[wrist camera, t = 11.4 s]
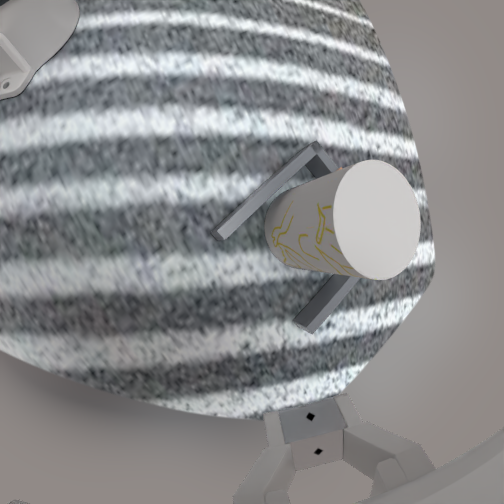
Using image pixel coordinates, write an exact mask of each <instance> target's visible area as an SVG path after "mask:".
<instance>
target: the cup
mask: <svg viewBox="0 0 504 504" xmlns="http://www.w3.org/2000/svg"><path fill="white" fill-rule="evenodd" d="M264 229H265V237H266V241H267V243H268V246H269V248H270V250H271V251H272V253H273V254H274V255H275V257H276V258H277V259H278V260H280V261H281V262H282V263H284V264H285V265H287V266H290V267H293V268H298V269H304V270H311V271H318V272H325V273H332V274H339V275H346V276H353V277H360V278H367V279H374V280H385V279H389V278H392V277H394V276H396V275H398V274H399V273H401V272H402V271H403V270H404V269H405V268H406V267H407V265H408V264H409V263H410V261H411V260H412V258H413V256H414V254H415V252H416V249H417V246H418V242H419V237H420V212H419V207H418V203H417V200H416V197H415V194H414V192H413V190H412V188H411V186H410V184H409V183H408V181H407V180H406V179H405V177H404V176H403V175H402V174H401V173H400V172H399V171H398V170H397V169H396V168H394V167H393V166H391V165H390V164H388V163H385V162H383V161H379V160H366V161H362V162H359V163H357V164H354V165H351V166H349V167H346V168H343V169H341V170H338V171H335V172H333V173H330V174H328V175H325V176H322V177H320V178H317V179H315V180H312V181H310V182H307V183H305V184H302V185H299V186H297V187H294V188H292V189H289V190H287V191H285V192H283V193H281V194H280V195H279V196H277V197H276V198H275V199H274V201H273V202H272V203H271V205H270V207H269V209H268V211H267V214H266V217H265V225H264Z"/></svg>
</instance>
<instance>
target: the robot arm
mask: <svg viewBox="0 0 504 504" xmlns="http://www.w3.org/2000/svg"><path fill="white" fill-rule="evenodd" d="M78 19H79V7H78V4H77V2H76V1H75V0H0V100H1V99H5V98H10V97H14V96H17V95H18V94H20V93H21V92H22V91H23V90H24V89H25V87H26V86H27V85H28V83H29V82H30V80H31V78H32V77H33V75H34V74H35V72H36V71H37V70H38V69H39V68H40V67H41V66H42V65H43V64H44V63H45V62H46V61H48V60H49V59H50V58H51V57H52V56H53V55H54V54H55V53H56V52H57V51H58V50H59V49H60V48H61V47H62V46H63V45H64V44H65V43H66V41H67V40H68V39H69V37H70V36H71V34H72V33H73V31H74V29H75V27H76V25H77V22H78ZM8 85H9V86H8ZM7 86H8V87H7ZM6 87H7V88H6ZM278 413H279V414H278ZM263 418H264V423H265V430H266V436H267V442H268V448H264V450H263V451H262V453H261V455H260V456H259V458H258V459H257V461H256V462H255V464H254V465H253V467H252V468H251V470H250V472H249V473H248V475H247V476H246V477H245V479H244V480H243V482H242V483H241V485H240V486H239V488H238V489H237V491H236V492H235V494H234V495H233V504H290V500H289V497H288V493H287V492H288V490H289V487H290V485H291V483H292V481H293V479H294V476H295V474H296V471H300V470H304V469H307V468H311V467H315V466H318V465H322V464H326V463H330V462H334V461H338V460H342V459H343V460H344V461H345V462H347V463H348V464H350V465H351V466H353V467H354V468H356V469H357V470H359V471H360V472H362V473H363V474H365V475H366V476H368V477H369V478H371V479H372V480H374V481H373V485H372V490H371V494H370V498H368V499H365V500H362V501H359V502H356V503H353V504H504V427H503V428H502V429H500V430H499V431H497V432H496V433H495V434H493V435H492V436H491V437H489V438H487V439H486V440H485V441H483V442H481V443H480V444H478V445H477V446H475V447H474V448H472V449H470V450H469V451H467V452H466V453H464V454H462V455H461V456H459V457H457V458H455V459H454V460H452V461H450V462H449V463H447V464H445V465H443V466H441V467H439V468H437V469H435V467H434V465H433V464H432V462H431V460H430V459H429V458H428V456H427V454H426V453H425V451H424V450H423V448H422V447H421V445H420V444H418V443H415V442H413V441H411V440H408V439H406V438H403V437H401V436H398V435H396V434H394V433H392V432H390V431H387V430H385V429H383V428H381V427H378V426H376V425H374V424H372V423H370V422H364V423H363V421H362V419H361V417H360V415H359V413H358V411H357V409H356V408H355V406H354V404H353V402H352V400H351V398H350V396H349V394H347V393H344V394H341V395H337V396H334V397H331V398H327V399H324V400H320V401H316V402H313V403H309V404H306V405H302V406H297V407H292V408H287V409H282V410H278V411H273V412H268V413H263ZM280 422H281V423H280ZM7 504H29V503H26V502H23V501H19V500H12V501H11V502H9V503H7Z"/></svg>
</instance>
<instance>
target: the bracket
mask: <svg viewBox="0 0 504 504" xmlns="http://www.w3.org/2000/svg"><path fill="white" fill-rule="evenodd" d="M304 165H306V166H307V168H308V169H309V170H310V171H311V172H312V174H313V175H314V176H315V177H316V179H317V178H320V177H322V176H325V175H328V174H330V173H333V172H335V171H338V170H341V169H342V167H341V168H338V167H337V165H336V164H335V163H334V162H333V160H332V159H331V158H330V157H329V155H328V154H327V153H326V152H325V150H324V149H323V148H322V147H321V145H320V144H319V143H318V142H317V140H316V141H314V142H313V143H311V144H309V145H308V146H306V147H304V148H303V149H302V150H300V151H299V152H298V153H297V154H296V155H295V156H294V157H292V158H291V159H290V160H289V161H288V162H287V163H286V164H284V165H283V166H282V167H281V168H280V169H279V170H278V171H277V172H276V173H274V174H273V175H272V176H271V177H270V178H269V179H268V180H267V181H265V182H264V183H263V184H262V185H261V186H260V187H259V188H258V189H257V190H256V191H254V192H253V193H252V194H251V195H250V196H249V197H248V198H247V199H246V200H245V201H244V202H243V203H241V204H240V205H239V206H238V207H237V208H236V209H235V210H234V211H233V212H232V213H231V214H230V215H229V216H227V217H226V218H225V219H224V220H223V221H222V222H221V223H220V224H219V225H218V226H217V227H216V228H215V229H214V230H213V231H212V232H210V233H211V234H212V235H213V236H214V237H215V238H216V239H217V240H218V241H220V240H226V239H227V238H228V237H229V236H230V235H231V234H232V233H233V232H234V231H235V230H236V229H237V228H238V227H239V226H240V225H241V224H242V223H243V222H244V221H245V220H246V219H247V218H249V217H250V216H251V215H252V214H253V213H254V212H255V211H256V210H257V209H258V208H259V207H260V206H261V205H262V204H263V203H264V202H265V201H266V200H268V199H269V198H270V197H271V196H272V195H273V194H274V193H275V192H276V191H277V190H278V189H279V188H280V187H281V186H282V185H284V184H285V183H286V182H287V181H288V180H289V179H290V178H291V177H292V176H293V175H294V174H295V173H296V172H298V171H299V170H300V169H301V168H302V167H303V166H304ZM359 279H360V277H353V276H346V275H339V274H334V275H333V276H332V277H331V278H330V279H329V281H328V282H327V283H326V284H325V285H324V286H323V287H322V289H321V290H320V291H319V292H318V293H317V294H316V295H315V297H314V298H313V299H312V300H311V301H310V302H309V303H308V304H307V305H306V307H305V308H304V309H303V310H302V311H301V312H300V313H299V314H298V315H297V316H296V318H295V319H294V320H293V322H294V323H295V324H296V325H297V326H298V327H299V328H301V329H303V330H305V331H307V332H309V333H311V334H313V333H314V332H315V331H316V330H317V329H318V327H319V326H320V325H321V324H322V323H323V322H324V321H325V319H326V318H327V317H328V316H329V315H330V314H331V313H332V311H333V310H334V309H335V308H336V307H337V306H338V304H339V303H340V302H341V301H342V300H343V298H344V297H345V296H346V295H347V294H348V292H349V291H350V290H351V289H352V287H353V286H354V285H355V284H356V283H357V281H358V280H359Z"/></svg>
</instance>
